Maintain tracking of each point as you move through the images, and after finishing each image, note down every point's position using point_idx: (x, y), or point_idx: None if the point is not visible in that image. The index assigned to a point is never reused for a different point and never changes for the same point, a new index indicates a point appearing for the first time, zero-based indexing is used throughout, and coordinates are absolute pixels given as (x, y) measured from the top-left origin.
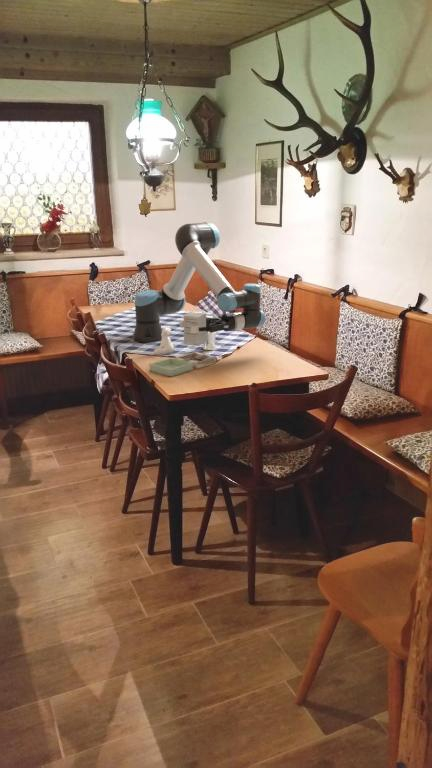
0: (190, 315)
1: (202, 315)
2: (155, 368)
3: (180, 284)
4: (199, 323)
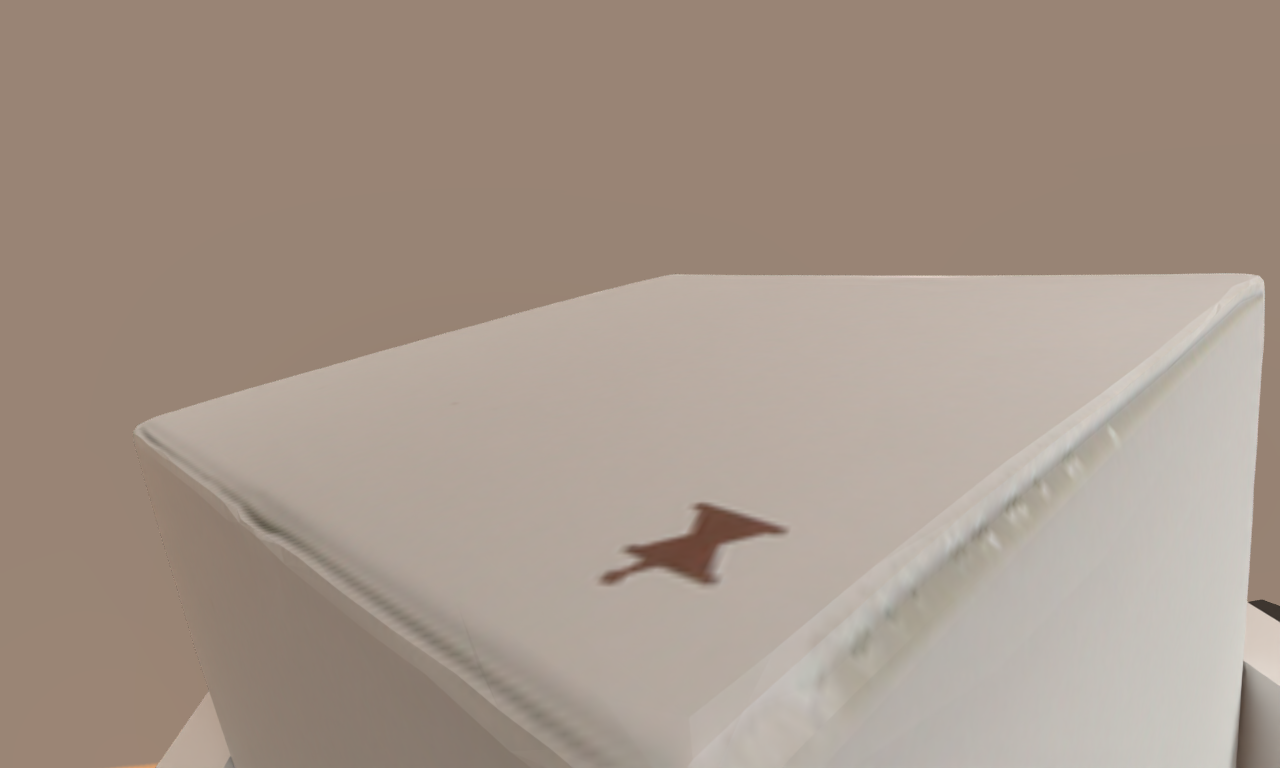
0: (550, 312)
1: (268, 521)
2: None
3: None
4: (223, 714)
